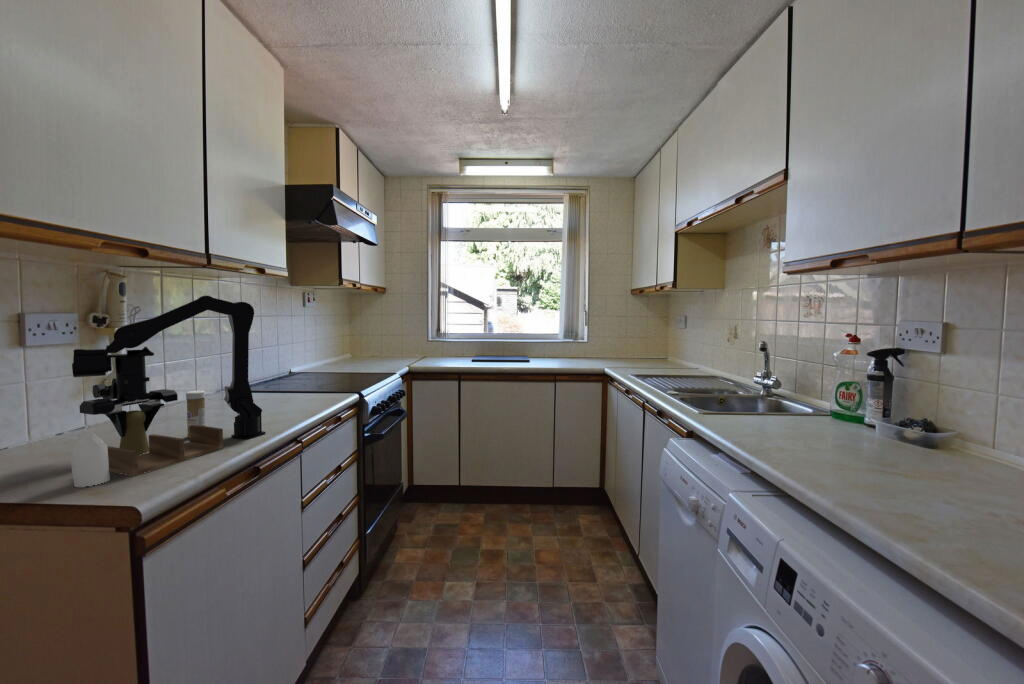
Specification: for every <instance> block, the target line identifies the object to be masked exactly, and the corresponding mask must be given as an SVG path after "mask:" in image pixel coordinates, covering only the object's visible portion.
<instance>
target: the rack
mask: <svg viewBox="0 0 1024 684" xmlns="http://www.w3.org/2000/svg"><path fill="white" fill-rule="evenodd" d="M223 431H224V429H223V428H221V427H212V426H206V425H205V426H199V425H190V438H189V441H188V442H185V439H184V438H179V437H174V436H167V435H160V434H155V433H153V434H148V445H149V452H148V453H145V454H142V455H138V456H137V451H134V450H128V449H122V448H120V447H114V446H109V445H107V448H108V461H109V471H110V472H109V473H112V472H116V473H115V474H117V473H122V474H127V475H131V476H130V477H132V476H134V475H137V474H140V475H142V474H141V473H143V474H145V473H144V472H146V473H149V472H148V471H150V472H152V470H153V471H155V469H156V470H159V469H162V468H161V467H163V468H165V466H166V467H168V465H169V466H172V465H175V464H178V462H179V463H182V462H184V460H185V461H188V460H191V459H190V458H192V459H194V458H193V457H195V458H197V457H196V456H198V457H200V455H201V456H204V455H208V454H211V453H213V452H216V451H219V450H220V449H221V450H223V449H224V434H223ZM210 452H211V453H210ZM207 453H208V454H207ZM203 454H204V455H203ZM187 459H188V460H187ZM181 461H182V462H181ZM174 463H175V464H174ZM171 464H172V465H171ZM158 468H159V469H158ZM122 474H121V475H122ZM127 475H126V476H127ZM137 476H138V475H137ZM134 477H135V476H134Z"/></svg>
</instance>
